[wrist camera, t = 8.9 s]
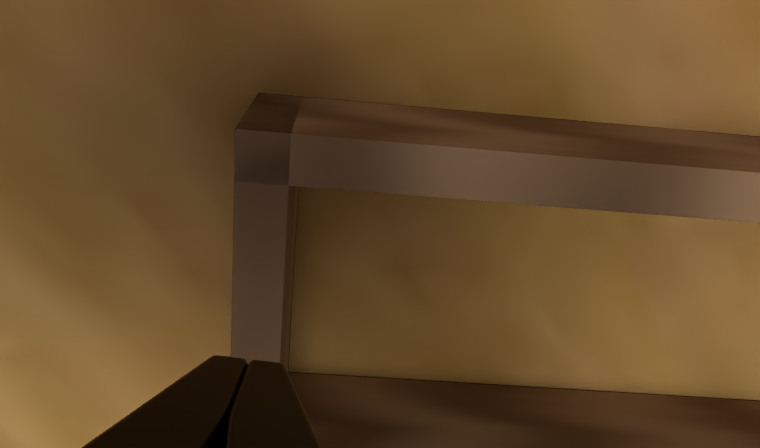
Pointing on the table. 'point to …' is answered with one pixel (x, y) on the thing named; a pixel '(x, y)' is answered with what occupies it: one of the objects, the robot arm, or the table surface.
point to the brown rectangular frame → (481, 183)
